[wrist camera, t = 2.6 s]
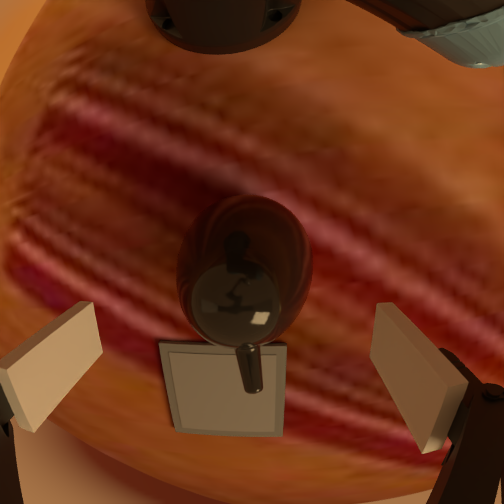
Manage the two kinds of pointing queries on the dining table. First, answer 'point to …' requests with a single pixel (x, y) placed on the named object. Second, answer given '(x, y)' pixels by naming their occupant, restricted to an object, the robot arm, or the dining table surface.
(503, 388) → the robot arm
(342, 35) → the dining table surface
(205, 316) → the pump dispenser
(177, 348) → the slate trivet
